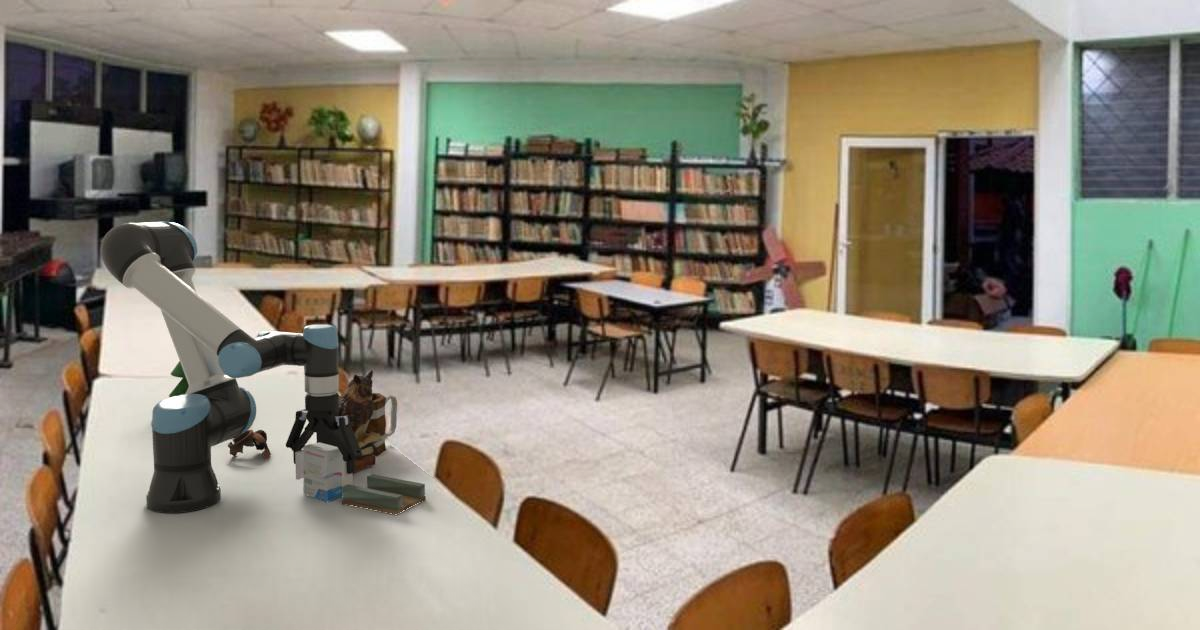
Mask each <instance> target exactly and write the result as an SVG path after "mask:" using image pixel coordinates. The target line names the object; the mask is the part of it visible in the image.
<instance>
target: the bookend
mask: <svg viewBox="0 0 1200 630" xmlns="http://www.w3.org/2000/svg"><path fill="white" fill-rule="evenodd" d="M373 374H374V371H373V370H371V369H370V370H369V371H367V373H366V374H365V375H358V374H354V376H353V378H351V380H349V382H348V384H347V387H346V389H345V391H344V392H343V394H344V396H343V397H342V399H340V401H339V409H338V415H339V416H346V415H349V417H350V423H351V427H352V429H353V432H354V434H355V437H356V439H357V442H358V444H359V447H360V449H361V452H362V456H360V457H357V458H355V471H354V472H353V473H356V472H358V471H360V470H364V469H367V468H369V467H372V466H375V465H376V463H377V460H376V459H377V458H376V457H377V456H376V457H375V455H374V454H375V453H376V447H375V445H374V443H376V442H378V441H381V440H382V439H381V436H380V434H378V433H375V432H370V431H367V430H366V429H367V427H368V423H369V420H370V418H371V416H372V415H373V410H374V405H373V404H374V403H373V400H372V393H373V379H372V378H373V376H374V375H373ZM337 424H338V423H337ZM334 430H335V429H334ZM334 430H333V431H334ZM315 435H316V443H319V442H320V443H324V444H328V445H331V446H335V447H337V446H336V444H335V443H334V441H333V440H332V438H331V437H329V436H328V435H327V434H323V433H321V432H318V433H316V432H315ZM344 459H345V458H344V457H343V460H344Z"/></svg>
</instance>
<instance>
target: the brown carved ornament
mask: <svg viewBox="0 0 1200 630" xmlns="http://www.w3.org/2000/svg"><path fill="white" fill-rule="evenodd" d="M267 436H268V434H267V432H266V431H264V430H262V429H258V430H257V431H254V430H253V429H248V430H247V431H246V432H244V433H243V434H241V435H240V436H238V437H236V438H233V439H232V441H230V442H229V443H228V444H227V447H228V448H229V455H231V456H233V457H236V456H237V454H238V453H240V454H243V453H244V447H248V448H249V447H255V449H256V450H257V451H262V452H261V454H262V456H263V458H264V460H268V459H269V458H270V456H271V454H272V453H271V451H270V449H269V446H268V443H267V441H268V437H267Z"/></svg>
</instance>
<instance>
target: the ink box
mask: <svg viewBox="0 0 1200 630" xmlns="http://www.w3.org/2000/svg"><path fill="white" fill-rule="evenodd" d="M302 450H303V464H304V478H303V489H302V490H303V495H304V494H305V495H304V496H307V495H308V496H307V497H310V496H311V497H310V498H313V497H314V499H317V500H320V499H321V500H320V501H323V500H324V502H327V501H328V502H331V501H334V500H336V499H338V498H339V499H340V498H341V497H342V498H343V488H342V460H343V455H342V454H341V452H340V451H339V449H338V447H335V446H331V445H328V444H324V443H320V442H319V443H317V442H314V443H309V444H305V446H304V447H303V449H302Z"/></svg>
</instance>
